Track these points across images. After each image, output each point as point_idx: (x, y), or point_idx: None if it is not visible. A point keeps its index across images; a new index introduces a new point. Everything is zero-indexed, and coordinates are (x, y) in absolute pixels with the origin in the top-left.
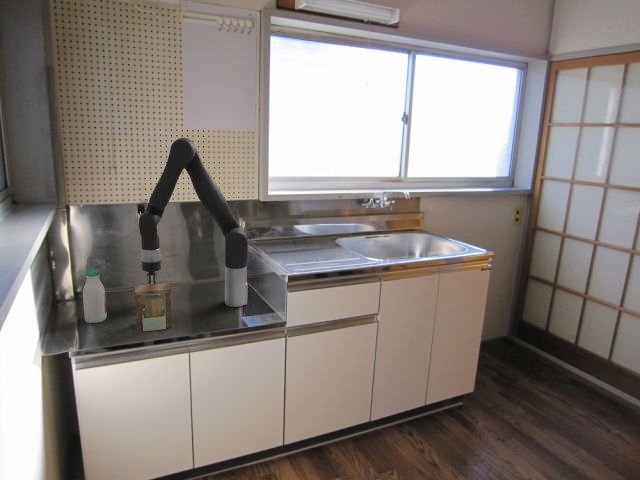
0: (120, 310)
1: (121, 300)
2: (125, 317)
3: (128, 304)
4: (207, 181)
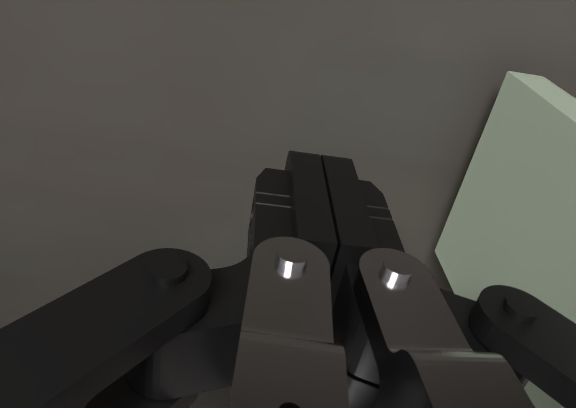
0: None
1: None
2: None
3: None
4: None
